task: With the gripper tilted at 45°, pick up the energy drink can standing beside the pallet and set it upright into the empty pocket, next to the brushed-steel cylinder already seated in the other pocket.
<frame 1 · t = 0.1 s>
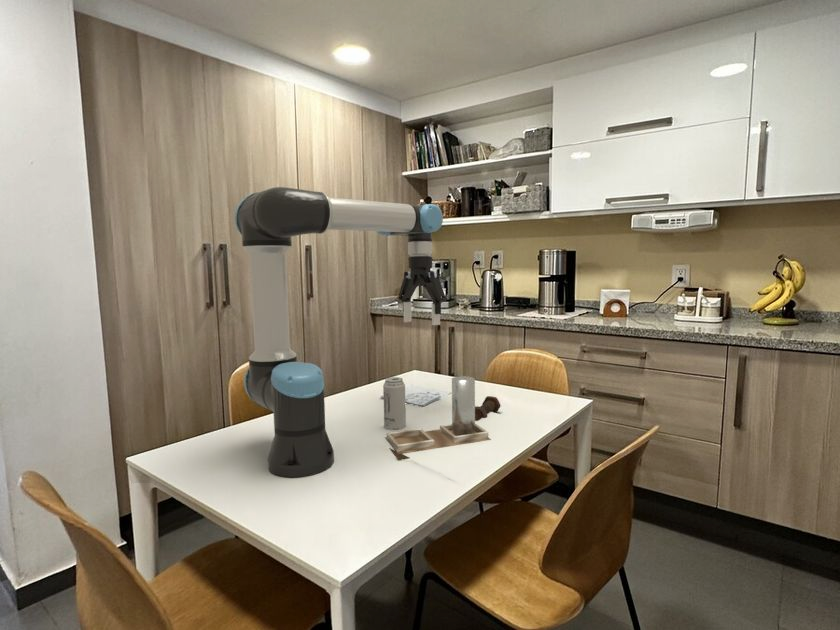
hand: (421, 323, 151), 28 cm above the table, tool pointing down, fingers open, 13 cm apart
energy drink can: (395, 432, 133), on the table
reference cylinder: (463, 434, 126), resting on pallet
bolt: (482, 419, 144), on the table
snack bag: (417, 398, 169), on the table
pallet: (437, 444, 124), on the table
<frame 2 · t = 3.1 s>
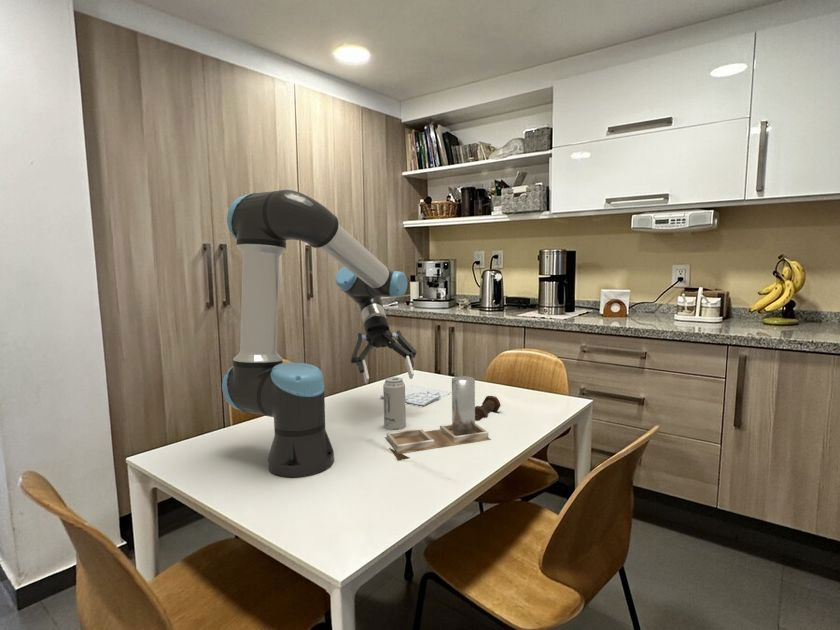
hand: (390, 378, 139), 13 cm above the table, tool tilted 45°, fingers open, 13 cm apart
nothing on the table moved.
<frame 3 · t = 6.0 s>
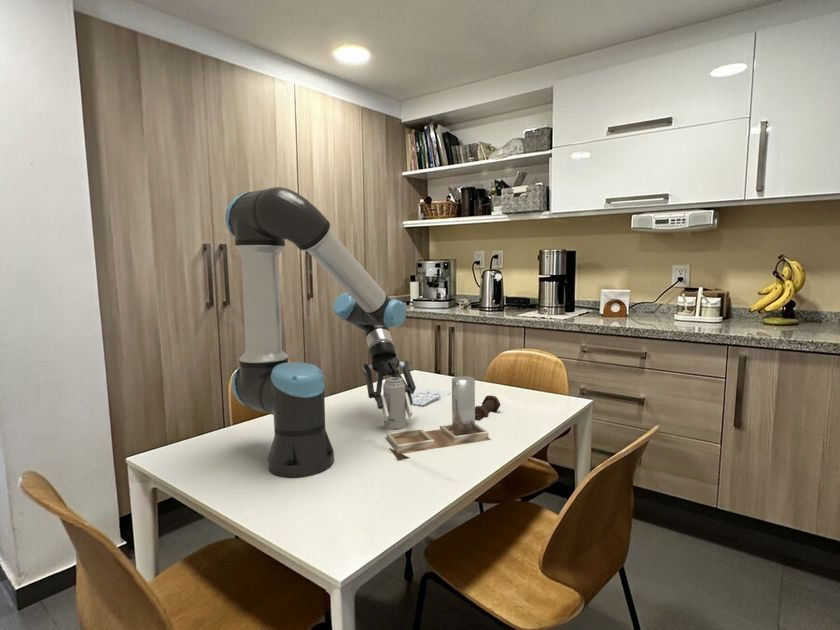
hand: (398, 416, 129), 5 cm above the table, tool tilted 45°, fingers closed on energy drink can, 6 cm apart
energy drink can: (395, 432, 133), on the table, touching gripper
everything else where it was.
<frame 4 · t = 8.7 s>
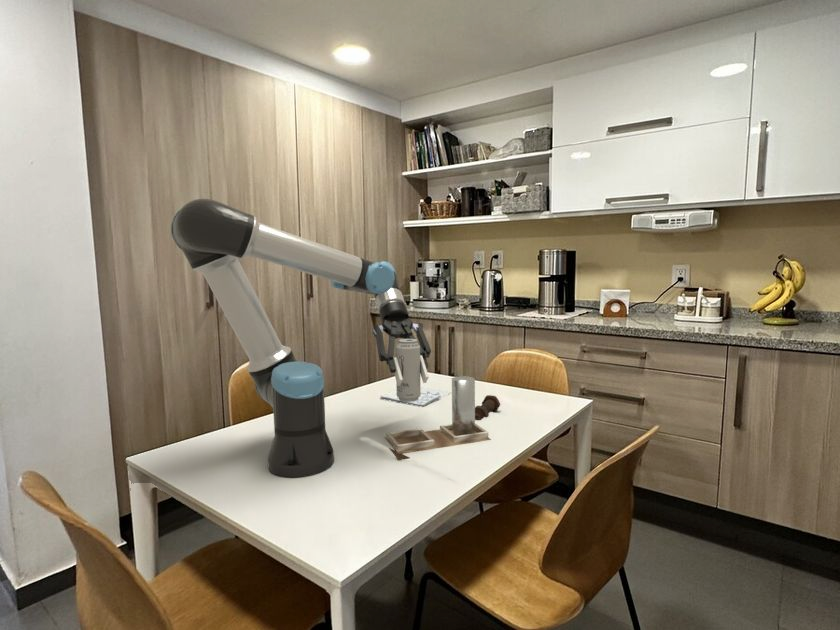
hand: (413, 381, 116), 18 cm above the table, tool tilted 45°, fingers closed on energy drink can, 6 cm apart
energy drink can: (408, 399, 120), point 13 cm above the table, touching gripper
everything else where it was.
when the fingers open (8 cm above the table, at t = 11.8 s): energy drink can drops 1 cm, resting on pallet.
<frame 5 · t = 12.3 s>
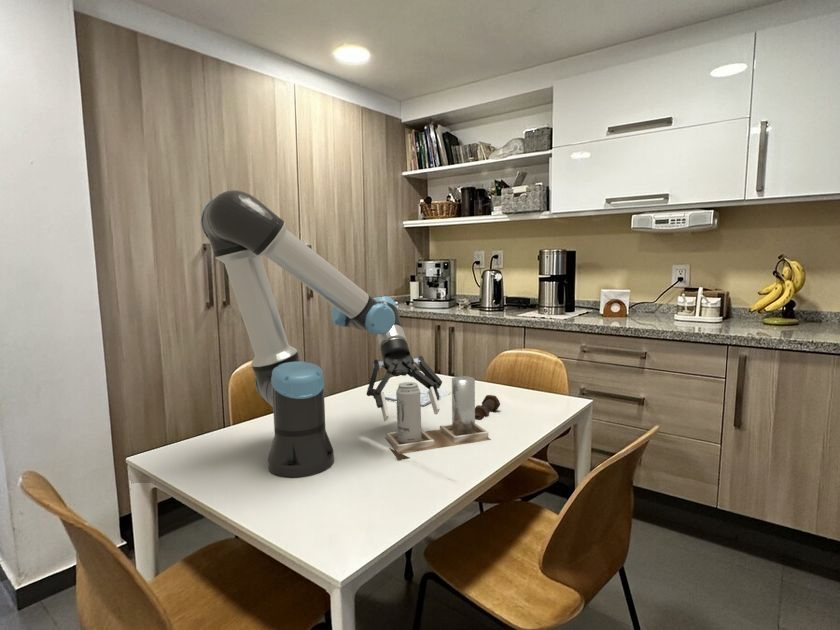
hand: (412, 415, 118), 9 cm above the table, tool tilted 45°, fingers open, 13 cm apart
energy drink can: (409, 443, 121), point 1 cm above the table, touching pallet
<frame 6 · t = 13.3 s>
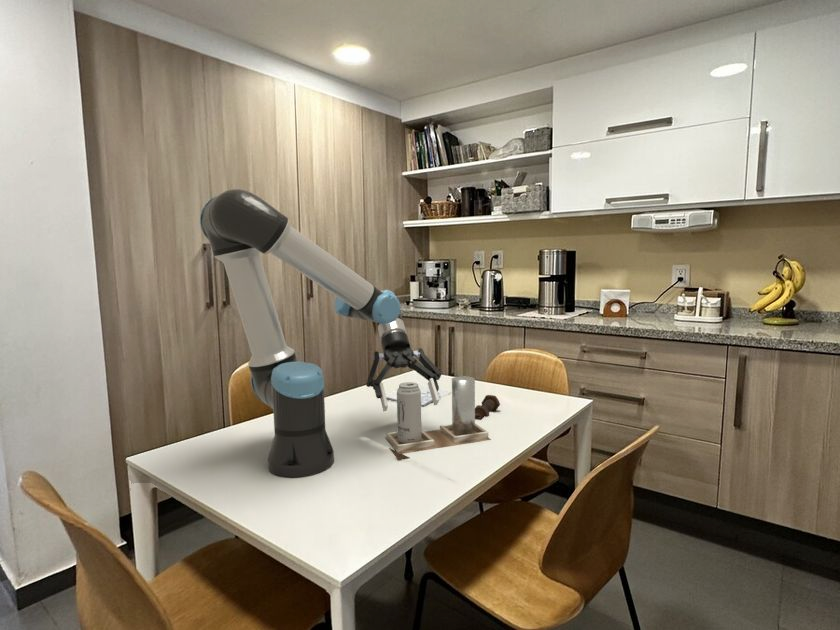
hand: (411, 405, 120), 11 cm above the table, tool tilted 45°, fingers open, 13 cm apart
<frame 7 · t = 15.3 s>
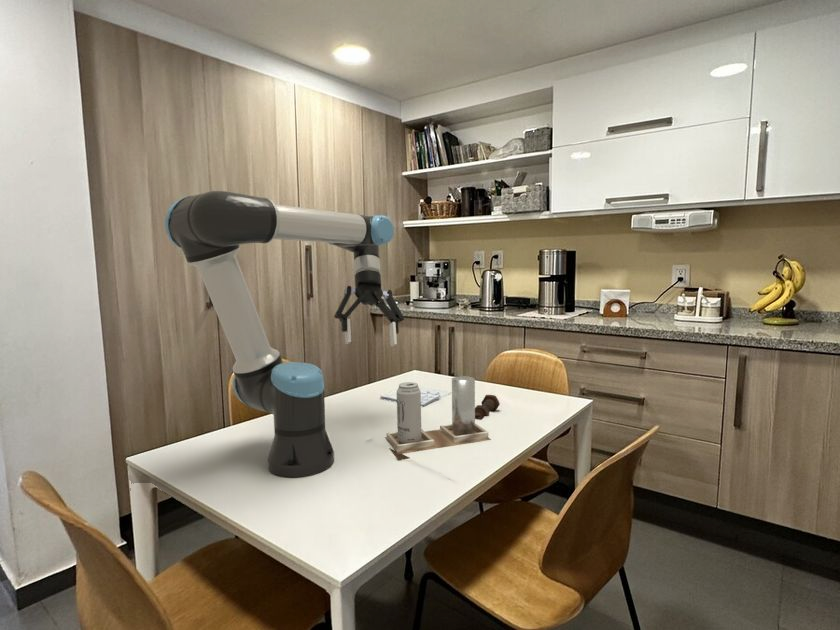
hand: (371, 344, 133), 25 cm above the table, tool tilted 25°, fingers open, 13 cm apart
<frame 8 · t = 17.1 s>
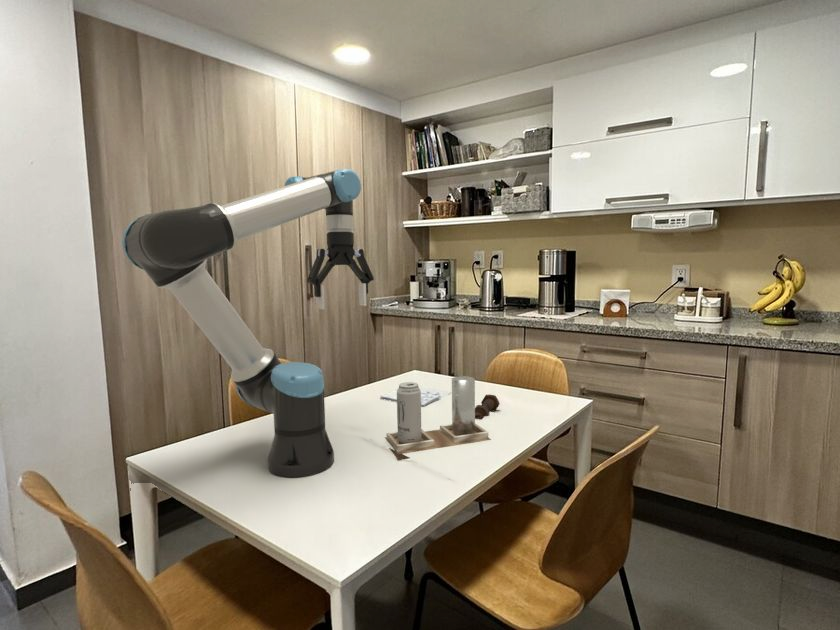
hand: (342, 307, 135), 35 cm above the table, tool pointing down, fingers open, 13 cm apart
at the end: energy drink can 0.2 cm from the target spot on the pallet, point 1.3 cm above the pallet's base; energy drink can tilted 0°; the gripper is holding nothing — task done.
